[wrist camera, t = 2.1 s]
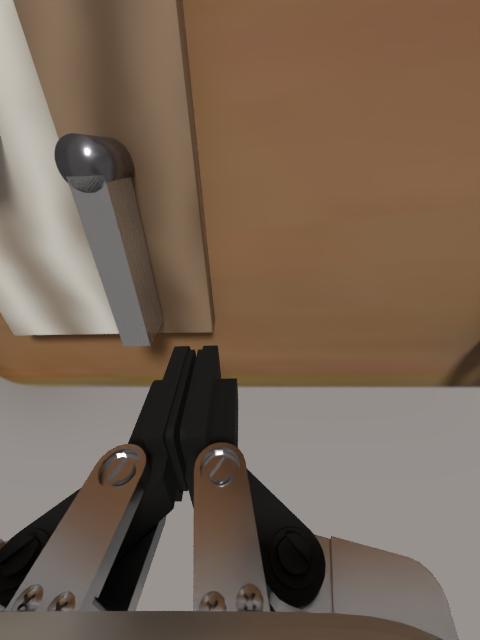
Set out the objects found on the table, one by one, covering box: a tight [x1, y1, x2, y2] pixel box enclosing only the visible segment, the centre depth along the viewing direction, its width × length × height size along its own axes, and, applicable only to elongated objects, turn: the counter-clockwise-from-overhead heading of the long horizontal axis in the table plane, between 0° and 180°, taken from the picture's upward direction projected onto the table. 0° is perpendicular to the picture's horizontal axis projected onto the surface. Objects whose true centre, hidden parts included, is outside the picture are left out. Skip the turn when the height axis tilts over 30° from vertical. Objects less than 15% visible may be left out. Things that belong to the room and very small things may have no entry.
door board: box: [0, 0, 215, 335], centre depth 16 cm, size 18×25×6 cm
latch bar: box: [54, 133, 163, 346], centre depth 18 cm, size 13×3×4 cm, turn 2°
